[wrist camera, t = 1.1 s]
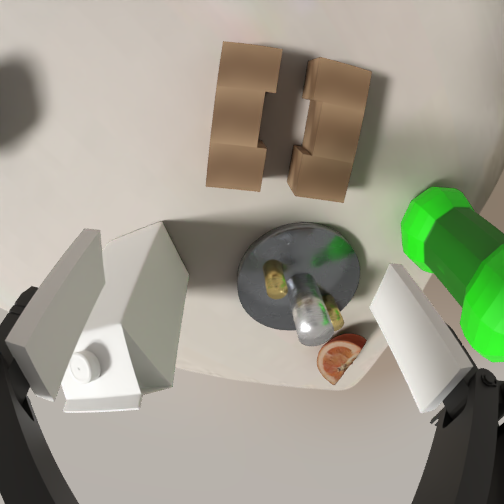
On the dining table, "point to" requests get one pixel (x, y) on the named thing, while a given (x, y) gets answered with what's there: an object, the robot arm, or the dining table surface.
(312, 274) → the post base
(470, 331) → the plastic bottle
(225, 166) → the flange block
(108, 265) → the milk carton
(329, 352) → the fruit slice
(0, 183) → the dining table surface
